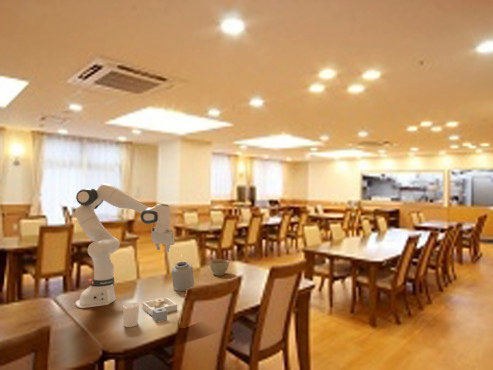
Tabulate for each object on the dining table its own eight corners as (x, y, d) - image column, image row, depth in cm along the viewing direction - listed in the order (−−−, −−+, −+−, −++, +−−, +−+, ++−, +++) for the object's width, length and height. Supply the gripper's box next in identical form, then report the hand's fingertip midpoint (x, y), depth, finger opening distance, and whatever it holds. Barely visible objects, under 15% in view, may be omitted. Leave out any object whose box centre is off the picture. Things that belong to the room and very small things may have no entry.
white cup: (133, 320, 171) (133, 301, 171) (141, 324, 166) (141, 305, 166) (119, 325, 165) (119, 305, 165) (127, 329, 160) (128, 309, 160)
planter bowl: (232, 273, 270) (232, 260, 271) (221, 277, 257) (221, 264, 257) (217, 270, 279) (217, 258, 279) (205, 274, 265) (205, 261, 265)
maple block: (157, 310, 184) (157, 302, 184) (154, 307, 188) (154, 300, 188) (164, 308, 187) (164, 300, 187) (161, 306, 190) (161, 298, 191)
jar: (183, 295, 214) (184, 257, 214) (165, 292, 219) (165, 255, 220) (197, 287, 231) (198, 252, 232) (180, 284, 237) (181, 250, 237)
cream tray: (152, 316, 177) (152, 310, 177) (142, 308, 189) (142, 302, 189) (177, 310, 186) (177, 304, 186) (166, 303, 198) (166, 297, 198)
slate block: (156, 322, 169) (156, 312, 169) (152, 318, 174) (152, 309, 174) (167, 319, 172) (167, 310, 173) (163, 316, 177) (163, 307, 177)
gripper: (177, 230, 200) (176, 252, 200) (158, 227, 213) (157, 248, 213) (168, 231, 195) (168, 253, 195) (149, 228, 208) (149, 249, 208)
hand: (162, 250), depth 204 cm, fingers open, 8 cm apart
